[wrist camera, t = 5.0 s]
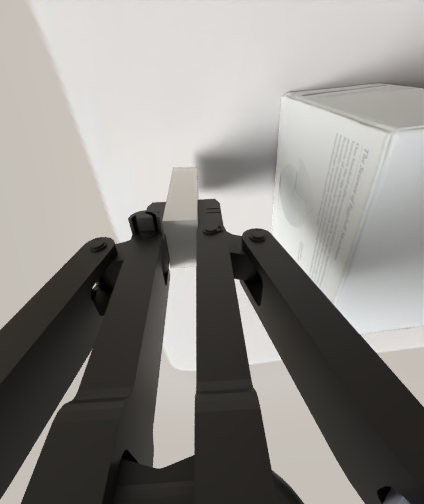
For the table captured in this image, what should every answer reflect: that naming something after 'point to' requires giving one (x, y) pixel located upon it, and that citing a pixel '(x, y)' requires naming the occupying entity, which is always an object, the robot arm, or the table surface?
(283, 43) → the table surface
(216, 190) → the table surface
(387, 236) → the skincare box
